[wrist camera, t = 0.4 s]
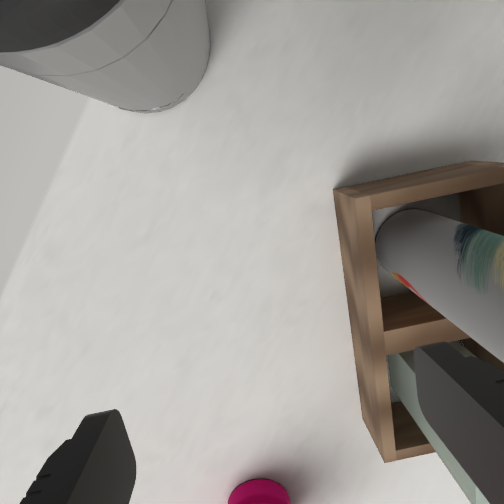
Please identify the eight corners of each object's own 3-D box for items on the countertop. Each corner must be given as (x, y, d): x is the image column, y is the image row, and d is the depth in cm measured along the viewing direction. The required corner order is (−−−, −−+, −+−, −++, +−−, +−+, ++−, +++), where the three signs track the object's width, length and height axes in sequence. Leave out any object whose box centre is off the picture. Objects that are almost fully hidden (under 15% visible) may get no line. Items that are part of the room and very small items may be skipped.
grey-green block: (386, 338, 32) (474, 446, 21) (441, 327, 32) (560, 428, 21) (390, 385, 34) (476, 510, 22) (443, 374, 34) (555, 493, 22)
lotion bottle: (419, 284, 31) (736, 512, 12) (361, 261, 30) (602, 468, 11) (453, 223, 29) (876, 367, 10) (393, 197, 28) (737, 302, 9)
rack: (332, 189, 28) (354, 198, 23) (471, 160, 28) (521, 163, 23) (362, 418, 34) (384, 462, 30) (475, 394, 34) (515, 434, 30)
